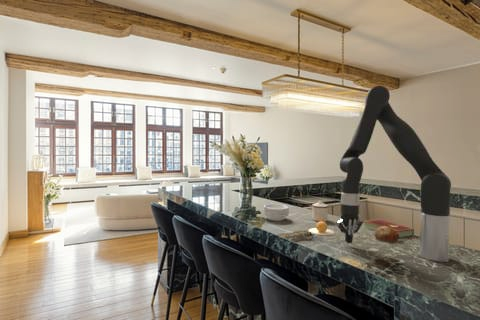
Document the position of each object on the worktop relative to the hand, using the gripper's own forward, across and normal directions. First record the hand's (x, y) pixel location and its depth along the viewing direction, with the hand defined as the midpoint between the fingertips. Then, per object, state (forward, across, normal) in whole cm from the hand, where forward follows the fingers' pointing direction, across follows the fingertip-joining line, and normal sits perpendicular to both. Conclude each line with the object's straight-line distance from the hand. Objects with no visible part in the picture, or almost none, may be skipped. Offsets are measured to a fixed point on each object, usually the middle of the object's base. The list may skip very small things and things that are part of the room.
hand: (348, 242), depth 123 cm
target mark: (+2, +2, +22) cm, 23 cm away
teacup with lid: (+2, +16, +46) cm, 49 cm away
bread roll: (+2, +25, +4) cm, 25 cm away
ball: (-1, +1, +22) cm, 22 cm away
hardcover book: (+2, +36, +15) cm, 39 cm away
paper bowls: (+2, -9, +54) cm, 55 cm away
